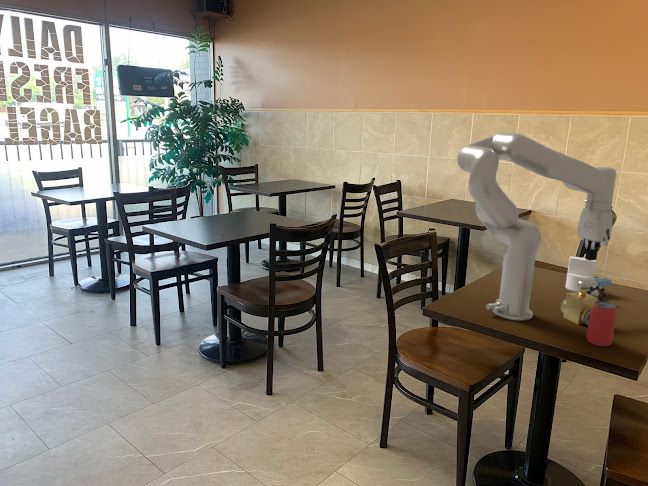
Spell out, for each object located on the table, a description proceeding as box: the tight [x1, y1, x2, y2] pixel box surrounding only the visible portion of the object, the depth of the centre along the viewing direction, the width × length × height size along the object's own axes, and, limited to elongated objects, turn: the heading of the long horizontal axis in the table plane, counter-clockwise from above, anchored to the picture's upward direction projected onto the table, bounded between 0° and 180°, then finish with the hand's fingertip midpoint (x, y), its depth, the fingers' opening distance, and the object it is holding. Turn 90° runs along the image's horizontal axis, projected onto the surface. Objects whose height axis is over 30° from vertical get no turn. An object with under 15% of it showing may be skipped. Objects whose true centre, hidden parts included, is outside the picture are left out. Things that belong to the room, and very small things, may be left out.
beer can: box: [586, 300, 617, 347], centre depth 148 cm, size 7×7×12 cm
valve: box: [586, 275, 607, 301], centre depth 187 cm, size 7×7×12 cm
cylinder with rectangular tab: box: [565, 255, 597, 292], centre depth 195 cm, size 9×9×12 cm
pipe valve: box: [560, 287, 599, 326], centre depth 165 cm, size 12×6×11 cm, turn 18°
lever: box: [577, 277, 613, 288], centre depth 165 cm, size 12×4×2 cm, turn 108°
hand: (590, 259), depth 170 cm, fingers closed
